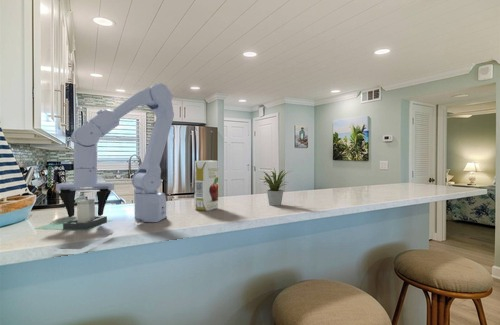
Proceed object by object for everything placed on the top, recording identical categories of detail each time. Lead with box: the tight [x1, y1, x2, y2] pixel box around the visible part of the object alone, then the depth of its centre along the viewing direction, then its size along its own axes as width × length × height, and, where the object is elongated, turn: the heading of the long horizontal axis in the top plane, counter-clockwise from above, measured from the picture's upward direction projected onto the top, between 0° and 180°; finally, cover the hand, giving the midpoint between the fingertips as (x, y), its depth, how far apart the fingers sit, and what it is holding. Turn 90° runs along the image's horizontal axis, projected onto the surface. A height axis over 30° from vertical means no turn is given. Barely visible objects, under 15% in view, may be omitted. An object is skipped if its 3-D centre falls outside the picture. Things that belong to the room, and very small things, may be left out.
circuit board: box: [34, 215, 113, 231], centre depth 81 cm, size 15×12×2 cm
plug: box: [76, 198, 96, 223], centre depth 81 cm, size 5×3×7 cm, turn 10°
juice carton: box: [194, 160, 219, 212], centre depth 110 cm, size 8×9×19 cm
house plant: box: [262, 168, 292, 207], centre depth 121 cm, size 14×14×16 cm
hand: (86, 215), depth 81 cm, fingers open, 7 cm apart
